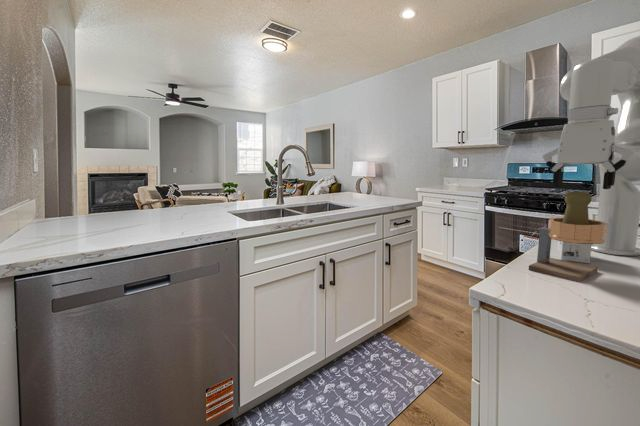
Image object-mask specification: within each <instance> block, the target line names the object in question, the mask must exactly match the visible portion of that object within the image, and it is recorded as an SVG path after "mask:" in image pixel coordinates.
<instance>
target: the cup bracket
mask: <svg viewBox="0 0 640 426" xmlns="http://www.w3.org/2000/svg"><path fill="white" fill-rule="evenodd" d="M562 221H563V217H553V218H548V223H547V224H548V225H547V227H542V228H539V234H538V235H539V237H538V246H537V247H538V248H537V258H536V262H534V263H531V264H529V265H528V270H529V271H532V272H536V273H540V274H545V275H548V276H553V277H558V278H561V279H565V280H570V281H573V282H578V283H580V282H582V281H584V280H586V279H588V278H589V277H591V276H592V275H594V274H596V273H597V272H598V269H599V267H597V266H593V265H588V264H585V263H580V262H574V261H565V260H561V259H560V258H559V259H558V258H553V257H551V249H552V248H551V247H552V240H555V241H557V242H558V241H563V242H569V243H577V244H602V243H604V242H605V238H606V236H607V228H608V224H607V223H605V222H602V221H597V219H589V225H578V224H568V223H562Z"/></svg>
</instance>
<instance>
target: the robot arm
mask: <svg viewBox="0 0 640 426" xmlns="http://www.w3.org/2000/svg"><path fill="white" fill-rule="evenodd" d="M559 94H560V97H561V98H562V99H563V100H565V101H567V102H569V104H568V114H567V115H568V117H567V123H564V126H563V129H562V131H561V135H560V138H559V139H560V140H559V143H558V148H555V149H554V150H550V151H549V152H547V153H545V154H543V155H542V158H543V160H544V163H545V164H546V166H547V167H548V168H549V169H550V170H551V172H553V173H552V175H553V176H552V184H553V187H554V188H562V187H563V182H564V181H563V180H564V171H562V170H563V169H564V168H565V167H566V166H567V165H596V164H597V165H598V167H599V179H600V184H599V185H600V188H599V189H600V190H599V200H598V207H597V216H596V217H597V218H596V220H597V221H602V222H605V223H607V224H608V228H607V236H606V238H605V242H604V243H602V244H592V245H591V251H595V252H597V253H604V254H608V255H614V256H627V257H628V256H630V257H634V256H636V257H637V256H640V248H638V247H637V246H636V245H637V241H638V239H637V238H638V232H639V225H640V190H639V188H638V187H636V185H635V184H634V182H640V35H639V36H638V35H637V36H635V37H632V38H630V39H628V40H626V41H625V42H623V43H622V44H620V45H619V46H618V47H617V48H615V49H614V50H612V51H609V52H607V53H605V54H602V55H600V56H598V57H596V58H593V59H590V60H586V61H583V62H581V63H579V64H577V65H575V66H574V67H573V68H572V69H570V70H569V71H568V72H566V74H565V75H564V76H563V77H562V79H561V81H560V85H559ZM616 95H617V97H618V100H619V103H620V111H619V108H618V107H612V105H611V103H612V96H616ZM618 113H619V115H618ZM614 115H618V119H617V122H616V126H615V121H614V120H613V119H611V117H612V116H614ZM554 156H557V163H555V162H554V161H553V157H554Z"/></svg>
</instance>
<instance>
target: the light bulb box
mask: <svg viewBox="0 0 640 426" xmlns="http://www.w3.org/2000/svg"><path fill="white" fill-rule="evenodd" d="M591 245H592V244H577V243H569V242H563V241H558V240H557V250H556V251H557V254H558V257H559V260H564V261H569V262H574V263H581V264H590V262H591V254H592V250H591Z"/></svg>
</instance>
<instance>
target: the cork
mask: <svg viewBox="0 0 640 426" xmlns="http://www.w3.org/2000/svg"><path fill="white" fill-rule="evenodd" d="M592 200H593V199H592V195H591V193H590V192H587V191H579V190H574V191H570V192H569V191H568V192H567V193H566V194H565V196H564V201H565V204H566V208H565V211H564V214H563V217H562V218H563V221H562V223H568V224H578V225H589V218H590V217H589V205H590V204H591V202H592Z"/></svg>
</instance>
